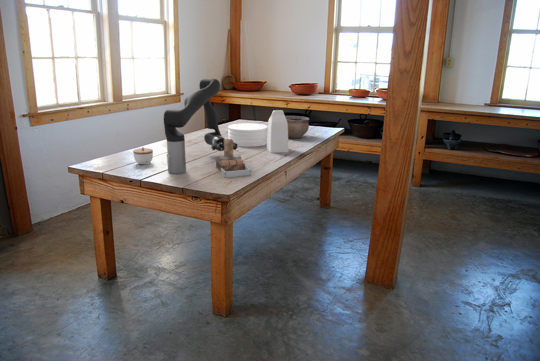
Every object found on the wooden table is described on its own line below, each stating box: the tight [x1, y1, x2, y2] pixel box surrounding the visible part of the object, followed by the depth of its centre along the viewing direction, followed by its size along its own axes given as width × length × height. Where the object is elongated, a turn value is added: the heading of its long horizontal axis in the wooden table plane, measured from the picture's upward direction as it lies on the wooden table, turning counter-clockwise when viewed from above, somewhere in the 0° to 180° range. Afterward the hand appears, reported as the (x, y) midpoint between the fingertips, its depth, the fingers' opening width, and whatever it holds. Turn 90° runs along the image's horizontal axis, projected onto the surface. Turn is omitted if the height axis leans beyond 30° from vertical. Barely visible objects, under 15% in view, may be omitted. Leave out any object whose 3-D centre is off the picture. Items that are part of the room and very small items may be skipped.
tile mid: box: [228, 160, 236, 165], centre depth 232 cm, size 4×4×2 cm
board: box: [215, 160, 246, 173], centre depth 236 cm, size 13×12×4 cm
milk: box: [266, 109, 289, 154], centre depth 278 cm, size 12×12×26 cm
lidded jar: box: [132, 146, 154, 165], centre depth 246 cm, size 11×11×9 cm
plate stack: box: [227, 122, 268, 148], centre depth 304 cm, size 28×28×12 cm
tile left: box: [221, 160, 229, 166], centre depth 230 cm, size 4×4×2 cm
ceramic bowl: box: [285, 115, 310, 139], centre depth 322 cm, size 22×22×15 cm
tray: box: [220, 165, 252, 178], centre depth 227 cm, size 14×8×3 cm, turn 111°
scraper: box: [218, 138, 242, 164], centre depth 235 cm, size 12×6×12 cm, turn 111°
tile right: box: [235, 158, 244, 164], centre depth 233 cm, size 4×4×2 cm
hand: (227, 148), depth 238 cm, fingers open, 8 cm apart
